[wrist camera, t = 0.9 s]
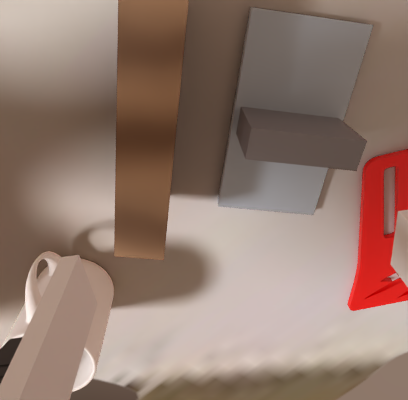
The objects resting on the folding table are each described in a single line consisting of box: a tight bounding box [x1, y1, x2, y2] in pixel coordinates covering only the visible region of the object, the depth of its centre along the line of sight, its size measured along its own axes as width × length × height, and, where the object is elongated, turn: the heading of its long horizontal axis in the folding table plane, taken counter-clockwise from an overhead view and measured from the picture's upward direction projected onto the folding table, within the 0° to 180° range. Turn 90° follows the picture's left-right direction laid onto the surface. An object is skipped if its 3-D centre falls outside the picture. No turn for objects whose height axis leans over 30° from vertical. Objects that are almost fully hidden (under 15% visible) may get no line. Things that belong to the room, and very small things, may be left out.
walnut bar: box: [114, 0, 189, 260], centre depth 28 cm, size 20×4×5 cm, turn 173°
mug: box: [1, 251, 114, 392], centre depth 37 cm, size 9×12×11 cm
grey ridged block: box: [218, 7, 373, 215], centre depth 32 cm, size 10×18×7 cm, turn 173°
